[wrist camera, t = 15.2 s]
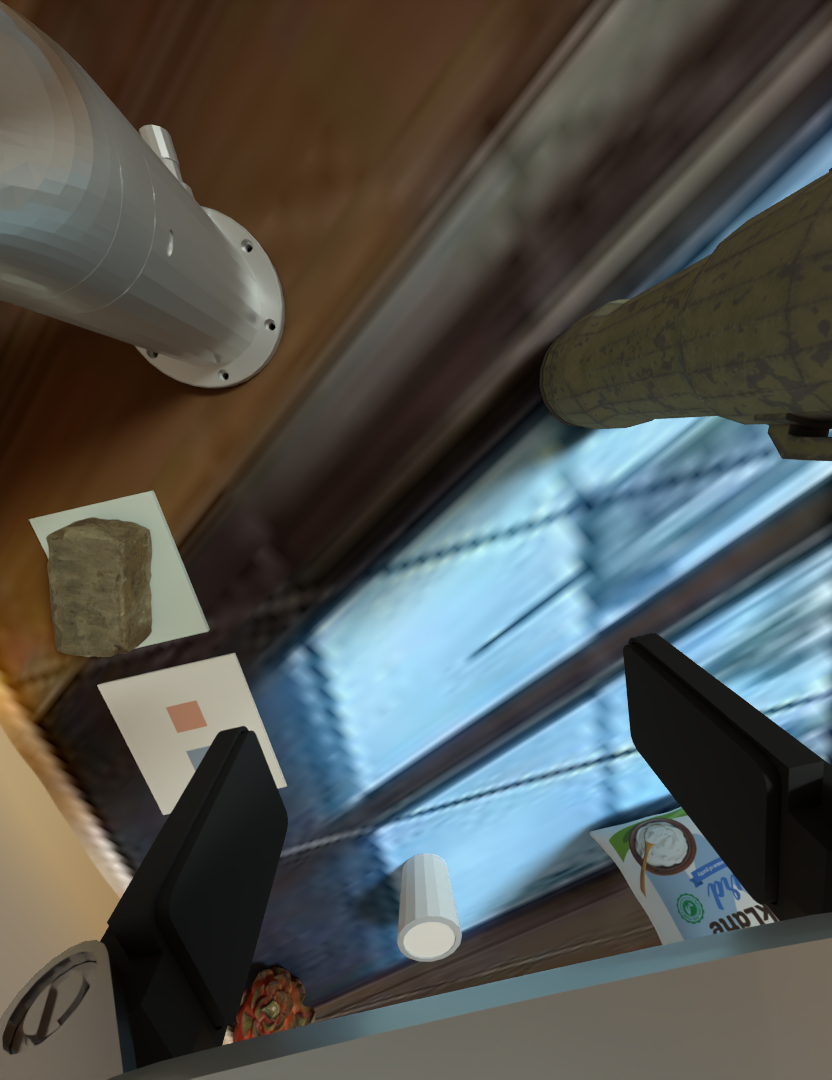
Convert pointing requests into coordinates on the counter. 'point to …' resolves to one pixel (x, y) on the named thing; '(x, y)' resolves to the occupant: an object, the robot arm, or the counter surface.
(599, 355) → the olive stone pillar
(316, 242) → the counter surface
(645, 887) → the pouch
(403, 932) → the white cylinder
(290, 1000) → the dragon fruit
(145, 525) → the pale green pad
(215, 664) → the tile
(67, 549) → the stone block
